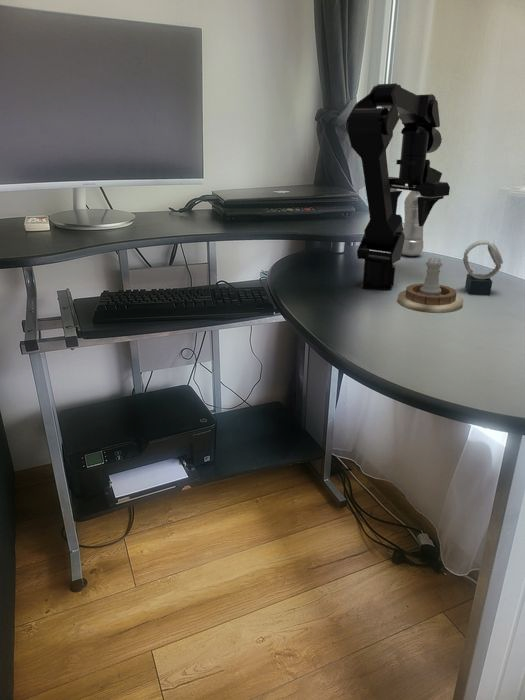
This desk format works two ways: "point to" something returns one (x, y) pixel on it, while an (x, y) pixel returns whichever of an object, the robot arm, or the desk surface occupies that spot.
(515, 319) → the desk surface
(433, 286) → the rook chess piece
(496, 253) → the watch
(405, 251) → the plastic bottle
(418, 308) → the well tray
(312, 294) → the desk surface
